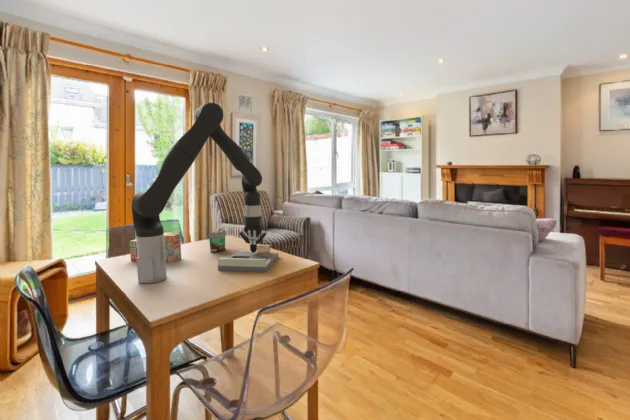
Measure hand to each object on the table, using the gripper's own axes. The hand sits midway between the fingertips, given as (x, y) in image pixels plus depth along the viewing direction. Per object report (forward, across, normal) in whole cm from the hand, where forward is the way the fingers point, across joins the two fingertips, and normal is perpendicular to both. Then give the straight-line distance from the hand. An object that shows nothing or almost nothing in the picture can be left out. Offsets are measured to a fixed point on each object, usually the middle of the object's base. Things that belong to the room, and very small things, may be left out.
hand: (253, 252), depth 152 cm
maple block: (+1, +5, 0) cm, 5 cm away
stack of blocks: (+4, -44, -6) cm, 45 cm away
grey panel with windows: (+3, +1, -8) cm, 8 cm away
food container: (+3, -21, +12) cm, 25 cm away
